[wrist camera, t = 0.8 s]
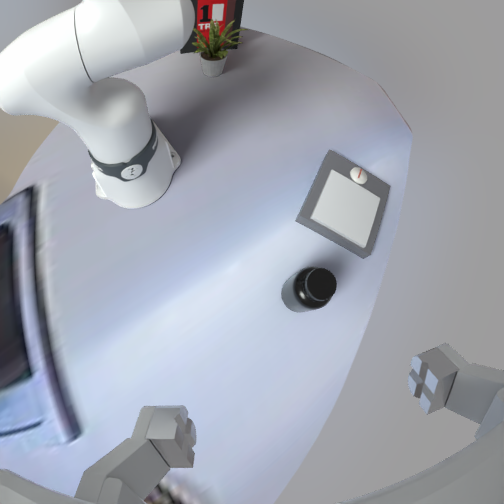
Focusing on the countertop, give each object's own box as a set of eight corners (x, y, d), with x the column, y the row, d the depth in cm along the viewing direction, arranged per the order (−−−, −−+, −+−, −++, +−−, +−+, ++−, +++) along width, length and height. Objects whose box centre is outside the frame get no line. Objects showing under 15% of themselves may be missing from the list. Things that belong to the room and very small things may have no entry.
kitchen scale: (295, 220, 54) (301, 213, 51) (324, 156, 59) (331, 146, 56) (363, 258, 55) (372, 253, 51) (383, 191, 60) (392, 184, 56)
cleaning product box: (232, 35, 68) (238, -16, 49) (237, 48, 67) (244, -6, 47) (179, 39, 66) (178, -12, 46) (180, 53, 64) (178, -2, 44)
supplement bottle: (323, 295, 52) (351, 286, 40) (297, 320, 50) (321, 318, 38) (299, 267, 52) (322, 252, 41) (272, 292, 50) (290, 282, 39)
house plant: (254, 78, 63) (264, 30, 48) (209, 96, 60) (211, 44, 44) (223, 53, 65) (228, 8, 50) (181, 69, 62) (178, 21, 46)
